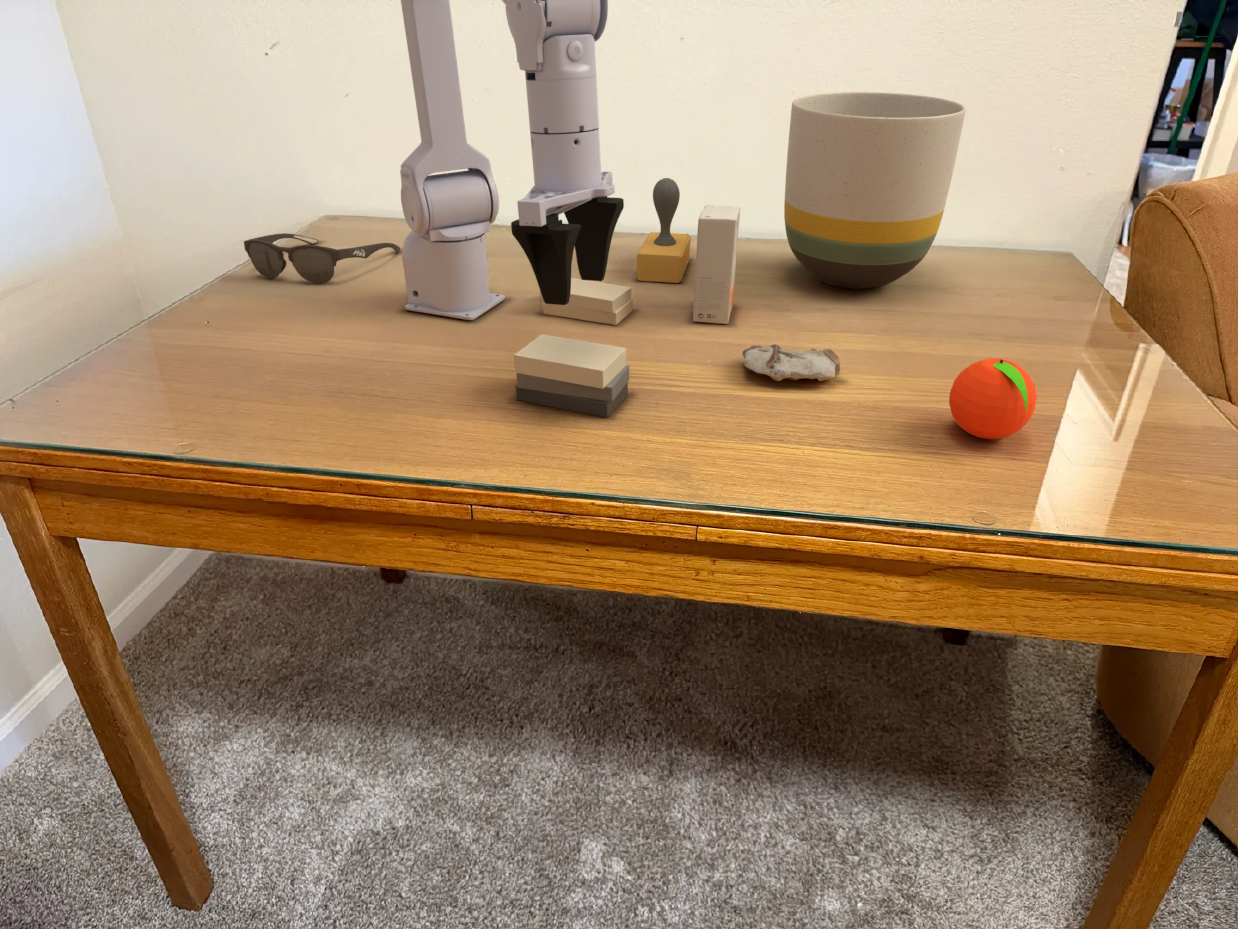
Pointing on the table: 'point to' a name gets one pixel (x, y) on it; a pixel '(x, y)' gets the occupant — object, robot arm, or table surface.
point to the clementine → (992, 398)
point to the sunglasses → (303, 256)
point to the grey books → (574, 393)
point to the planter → (867, 182)
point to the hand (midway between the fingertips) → (575, 291)
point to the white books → (594, 302)
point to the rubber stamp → (664, 240)
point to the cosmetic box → (715, 263)
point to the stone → (792, 363)
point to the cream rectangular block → (570, 360)
